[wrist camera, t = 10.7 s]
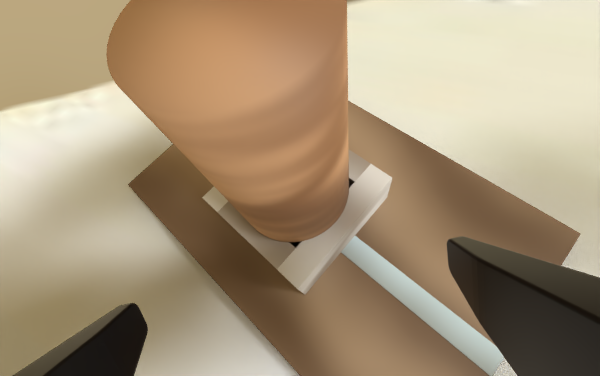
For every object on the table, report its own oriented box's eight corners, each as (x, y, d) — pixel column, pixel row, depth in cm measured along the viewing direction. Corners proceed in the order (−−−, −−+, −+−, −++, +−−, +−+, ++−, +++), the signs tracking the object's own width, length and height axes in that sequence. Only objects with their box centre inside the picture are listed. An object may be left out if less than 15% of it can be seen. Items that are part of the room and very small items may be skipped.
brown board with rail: (410, 491, 12) (429, 542, 9) (135, 189, 21) (100, 166, 18) (570, 238, 15) (622, 216, 12) (273, 64, 24) (262, 27, 21)
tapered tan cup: (303, 275, 16) (206, 165, 5) (235, 212, 18) (66, 42, 7) (369, 199, 17) (401, -19, 6) (298, 149, 19) (231, -77, 9)
